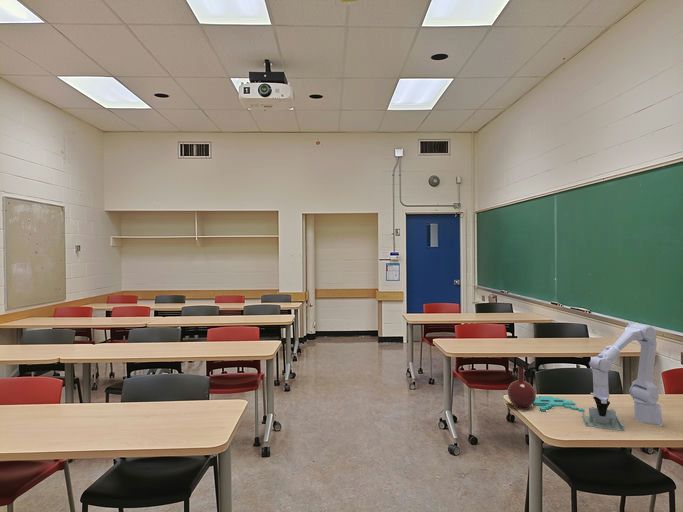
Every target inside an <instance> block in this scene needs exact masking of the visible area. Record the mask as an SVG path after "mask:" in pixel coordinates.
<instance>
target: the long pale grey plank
mask: <svg viewBox="0 0 683 512" xmlns="http://www.w3.org/2000/svg"><path fill="white" fill-rule="evenodd" d="M592 407H593V406H591V407H588V416H589V421H590V422H592V416H595V418H596V423H604V424H611V418H613V419H614V421H615V425H616V416H617V411H616V410H615V409H614V410H611V409H608V408H607V412H606V416H605V417H604V416H600V415H599V411H598V408H597V407H594V408H592Z"/></svg>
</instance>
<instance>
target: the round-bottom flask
mask: <svg viewBox="0 0 683 512" xmlns="http://www.w3.org/2000/svg"><path fill="white" fill-rule="evenodd" d="M524 371H525V367H523V366H517V378H518V379H517V380H514V381H513V382H511V383H510V384H509V386H508V387H507V397H508V399H509V401H510V402H511V404H513V405H514V406H515V407H518V408H522V409H523V408H526V409H527V408H529V407H532V406H533V405H532V404H533V403H534V402H535V399H536V397H537V392H536V390H535V388H534V387H533V386H532V384H531V383H530V382H528V381H526V380H525V378H524V377H525V373H524Z"/></svg>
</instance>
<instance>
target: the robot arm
mask: <svg viewBox="0 0 683 512" xmlns="http://www.w3.org/2000/svg"><path fill="white" fill-rule="evenodd" d="M657 333H658V331H657V330H656V329H655V328H654V327H653V326H651V325H644V324H639V323H634V322H632V323H631V322H630V323H628V324H627V325H626V327H624V331H623V332H622V334H621V335H620V336H619V338H618V339H617V340H616V341H615V342H614V343H613V344H612V345H606V346H605V347H604V348H603V350H602V351H601V352H600V353H598V355H596V356H593V357H591V359H590V361H589V362H588V365H589V367H590V368H591V373H592V382H593V383H592V384H593V387H592V388H593V392H590V396H592V398H593V399H594V401H595V406H596V408H598V411H599V415H600V416H604V417H605V416H606V412H607V409H608V407H609V406H610V404H611V402H610V400H609V398H610V392H609V391H610V388H609V371H611V369H612V366H613V364H614V361H616V360H617V359H618V358H619V357H620V356H621V351H622V350H623V349H624V348H626V347H627V346H628V345H629V344H630V343H632V341H636V342H638V343H639V345H640V353H639V358H638V359H639V361H638V362H639V363H638V367H637V368H638V371H637V378H636V379H635V380H633V381H632V382H631V386H630V388H629V390H628V391H629V395H630V397H632V401H633V403H634V404H633V405H634V406H633V407H634V419H635V421H637V422H640V423H643V424H651V425H652V424H654V425H658V426H659V427H661V428H662V427H663V419H662V418H663V417H662V409H661V405H660V403H658V402H659V399H660V398H659V397H660V396H659V393H658V392H659V391H658V389H659V388H658V387H657V386H656V385H655V384H654V383H653V382H654V381H653V379H654V371H655V364H656V363H655V361H656V352H657Z"/></svg>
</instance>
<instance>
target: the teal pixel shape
mask: <svg viewBox="0 0 683 512" xmlns="http://www.w3.org/2000/svg"><path fill="white" fill-rule="evenodd" d="M532 406H533V407H539V412H540V411H541V412H546V413H547V411H546V410H549V409H553V408H552V407H554V408H556V407H559V408H561V407H563V408H564V409H570V410H572V411H578V412H581V413H582V412H584V413H585V411H586V410H585V409H584V408H583V407H576V403H575V402H574V401H573V400H567V399H565V398H560V397H554V396H552V395H539V396H538V397H537V396H536V399H535V402H534V403H533V405H532ZM549 411H550V410H549ZM541 412H540V413H541Z"/></svg>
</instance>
